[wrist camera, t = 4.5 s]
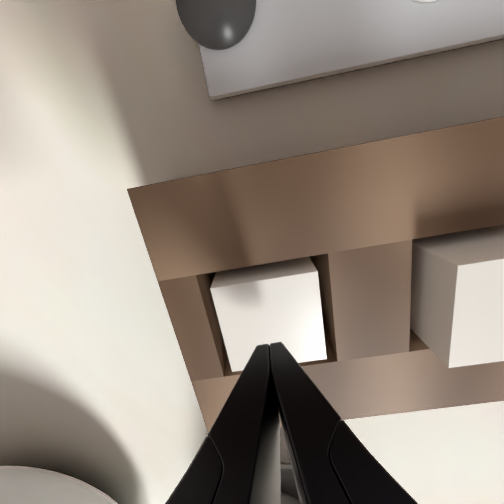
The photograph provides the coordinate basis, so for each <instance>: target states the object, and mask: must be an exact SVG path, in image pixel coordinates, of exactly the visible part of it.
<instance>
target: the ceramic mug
mask: <svg viewBox="0 0 504 504" xmlns="http://www.w3.org/2000/svg"><path fill="white" fill-rule="evenodd" d="M280 474H281V504H300V500H299V495H298V491H297V487H296V483H295V479H294V474H293V470H292V466H291V465H290V464H280Z"/></svg>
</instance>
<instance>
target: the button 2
mask: <svg viewBox="0 0 504 504" xmlns="http://www.w3.org/2000/svg"><path fill="white" fill-rule="evenodd" d="M210 290H211V293H212V297H213V301H214V305H215V309H216V313H217V316H218V320H219V324H220V328H221V332H222V335H223V339H224V343H225V347H226V351H227V354H228V358H229V362H230V366H231V370H232V372H235V371H242V370H243V369H244V368H245V366H246V364H247V362H248V360H249V359H250V357H251V355H252V353H253V351H254V350H255V348H256V346H257V345H262V344H269V346H270V344H271V343H275V342H282V343H283V344H284V345H285V347H286V348H287V349H288V351H289V352H290V353H291V354H292V356H293V357H294V358H295V359H296V361H297V362H298V363H301V362H308V361H316V360H323V359H327V356H326V346H325V337H324V327H323V318H322V308H321V298H320V289H319V279H318V271H317V269H316V268H315V266H314V264H313V263H312V261H311V259H310V258H309V257H303V258H297V259H290V260H284V261H278V262H272V263H266V264H260V265H254V266H248V267H242V268H236V269H230V270H224V271H218V272H216V274H215V277H214V279H213V282H212V285H211V288H210Z"/></svg>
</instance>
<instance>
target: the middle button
mask: <svg viewBox="0 0 504 504" xmlns="http://www.w3.org/2000/svg"><path fill="white" fill-rule="evenodd" d="M410 329H411V330H412V331H413V332H414V333H415V334H416V335H417V336H418V337H419V338H420V339H421V340H422V341H423V342H424V343H425V344H426V345H427V346H428V347H429V348H430V349H431V350H432V351H433V352H434V354H435V355H436V356H437V357H438V358H439V359H440V360H441V361H442V362H443V363H444V364H445V365H446V366H447V367H448V368H453V367H461V366H469V365H476V364H484V363H492V362H500V361H504V224H503V225H497V226H491V227H485V228H479V229H473V230H467V231H461V232H454V233H448V234H442V235H436V236H430V237H424V238H418V239H412V268H411V304H410Z"/></svg>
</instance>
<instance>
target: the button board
mask: <svg viewBox="0 0 504 504" xmlns="http://www.w3.org/2000/svg"><path fill="white" fill-rule="evenodd" d="M127 191H128V194H129V197H130V200H131V203H132V206H133V209H134V212H135V215H136V218H137V221H138V224H139V227H140V230H141V233H142V236H143V239H144V242H145V245H146V248H147V251H148V254H149V257H150V260H151V263H152V266H153V269H154V272H155V274H156V277H157V280H158V283H159V286H160V289H161V292H162V295H163V298H164V301H165V304H166V307H167V310H168V313H169V316H170V319H171V322H172V325H173V328H174V331H175V334H176V337H177V340H178V343H179V346H180V349H181V352H182V355H183V358H184V361H185V364H186V367H187V370H188V373H189V376H190V379H191V382H192V385H193V388H194V391H195V394H196V397H197V400H198V403H199V406H200V409H201V412H202V415H203V418H204V421H205V424H206V427H207V430H208V433H209V431H210V429H211V427H212V426H213V424H214V422H215V420H216V418H217V417H218V415H219V413H220V411H221V409H222V408H223V406H224V404H225V402H226V400H227V398H228V397H229V395H230V393H231V391H232V389H233V388H234V386H235V384H236V382H237V380H238V379H239V377H240V375H241V373H242V371H243V370H242V371H235V372H232V370H231V366H230V362H229V358H228V354H227V351H226V347H225V343H224V339H223V335H222V332H221V328H220V324H219V320H218V316H217V313H216V309H215V305H214V301H213V297H212V293H211V290H210V288H211V285H212V282H213V279H214V277H215V274H216V272H218V271H224V270H230V269H236V268H242V267H248V266H254V265H260V264H266V263H272V262H278V261H284V260H290V259H297V258H303V257H309V256H310V259H311V261H312V263H313V264H314V266H315V268H316V269H317V271H318V279H319V289H320V298H321V308H322V318H323V327H324V337H325V346H326V356H327V359H323V360H316V361H308V362H301V363H299V365H300V366H301V367H302V368H303V370H304V371H305V372H306V374H307V375H308V376H309V377H310V379H311V380H312V381H313V382H314V384H315V385H316V386H317V388H318V389H319V390H320V391H321V393H322V394H323V395H324V397H325V398H326V399H327V400H328V402H329V403H330V404H331V405H332V407H333V408H334V409H335V411H336V412H337V413H338V414H339V416H340V417H341V419H342V420H345V419H353V418H362V417H370V416H378V415H387V414H395V413H403V412H412V411H420V410H429V409H437V408H445V407H454V406H462V405H471V404H479V403H487V402H496V401H504V361H500V362H492V363H484V364H476V365H469V366H461V367H453V368H448V367H447V366H446V365H445V364H444V363H443V362H442V361H441V360H440V359H439V358H438V357H437V356H436V355H435V354H434V352H433V351H432V350H431V349H430V348H429V347H428V346H427V345H426V344H425V343H424V342H423V341H422V340H421V339H420V338H419V337H418V336H417V335H416V334H415V333H414V332H413V331H412V330H411V329H410V304H411V268H412V239H418V238H424V237H430V236H436V235H442V234H448V233H454V232H461V231H467V230H473V229H479V228H485V227H491V226H497V225H503V224H504V117H499V118H493V119H488V120H483V121H478V122H473V123H467V124H462V125H457V126H452V127H447V128H441V129H436V130H431V131H426V132H421V133H415V134H410V135H405V136H400V137H395V138H389V139H384V140H379V141H374V142H369V143H364V144H358V145H353V146H348V147H343V148H338V149H332V150H327V151H322V152H317V153H312V154H306V155H301V156H296V157H291V158H286V159H280V160H275V161H270V162H265V163H260V164H254V165H249V166H244V167H239V168H234V169H228V170H223V171H218V172H213V173H208V174H202V175H197V176H192V177H187V178H182V179H176V180H171V181H166V182H161V183H156V184H150V185H145V186H140V187H135V188H130V189H127ZM279 416H280V414H279ZM280 427H282V424H281V419H280Z"/></svg>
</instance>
